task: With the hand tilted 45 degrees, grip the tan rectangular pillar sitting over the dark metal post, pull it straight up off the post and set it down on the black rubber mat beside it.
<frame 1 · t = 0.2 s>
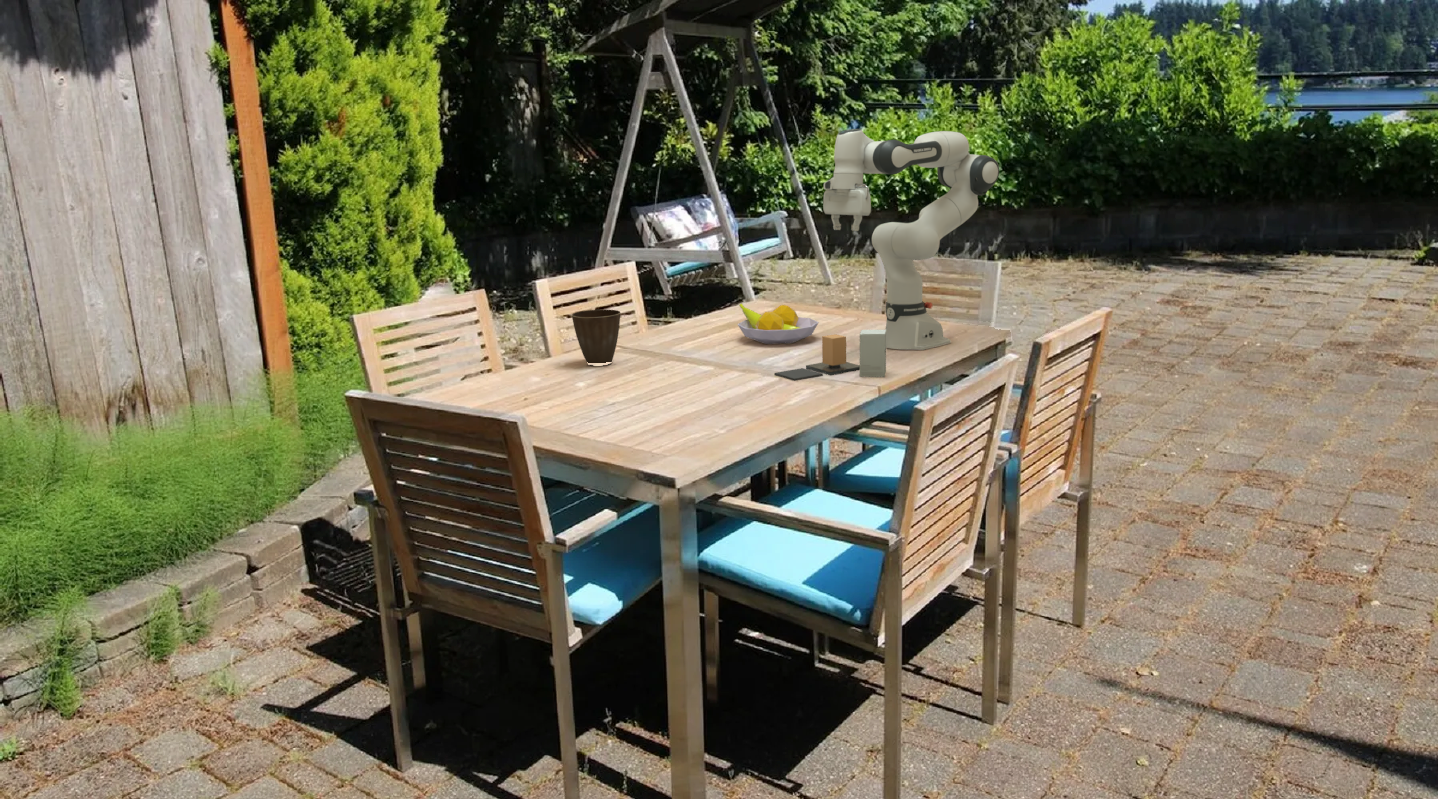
hand: (845, 230, 364), 39 cm above the table, tool pointing down, fingers open, 8 cm apart
post stand: (834, 369, 356), on the table
plant pot: (599, 364, 374), on the table
supplement box: (873, 375, 347), on the table
tan rectangular pillar: (834, 363, 355), point 2 cm above the table, touching post stand
fruit bowl: (776, 340, 403), on the table
mat: (798, 375, 349), on the table
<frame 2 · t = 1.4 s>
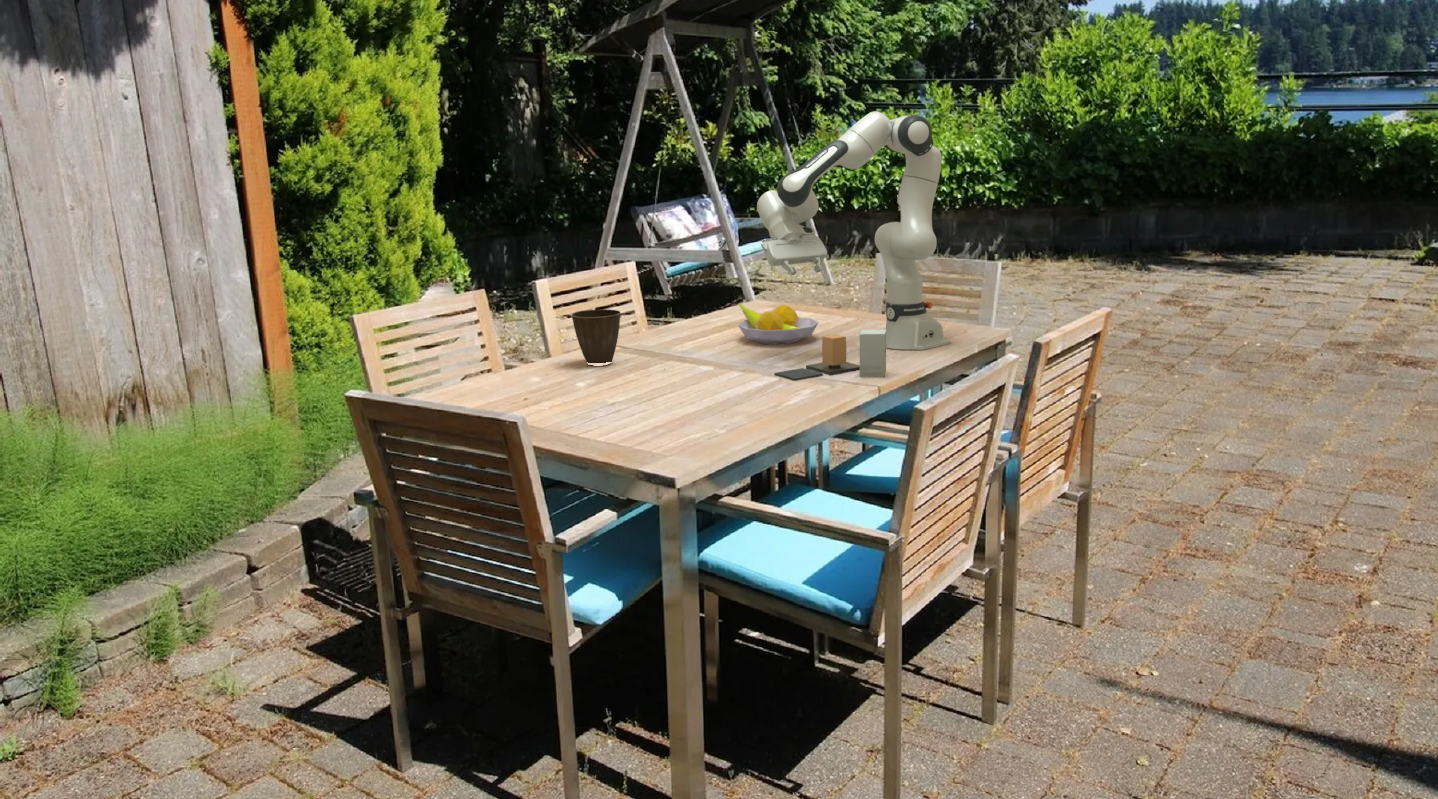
hand: (806, 272, 360), 27 cm above the table, tool tilted 45°, fingers open, 8 cm apart
nothing on the table moved.
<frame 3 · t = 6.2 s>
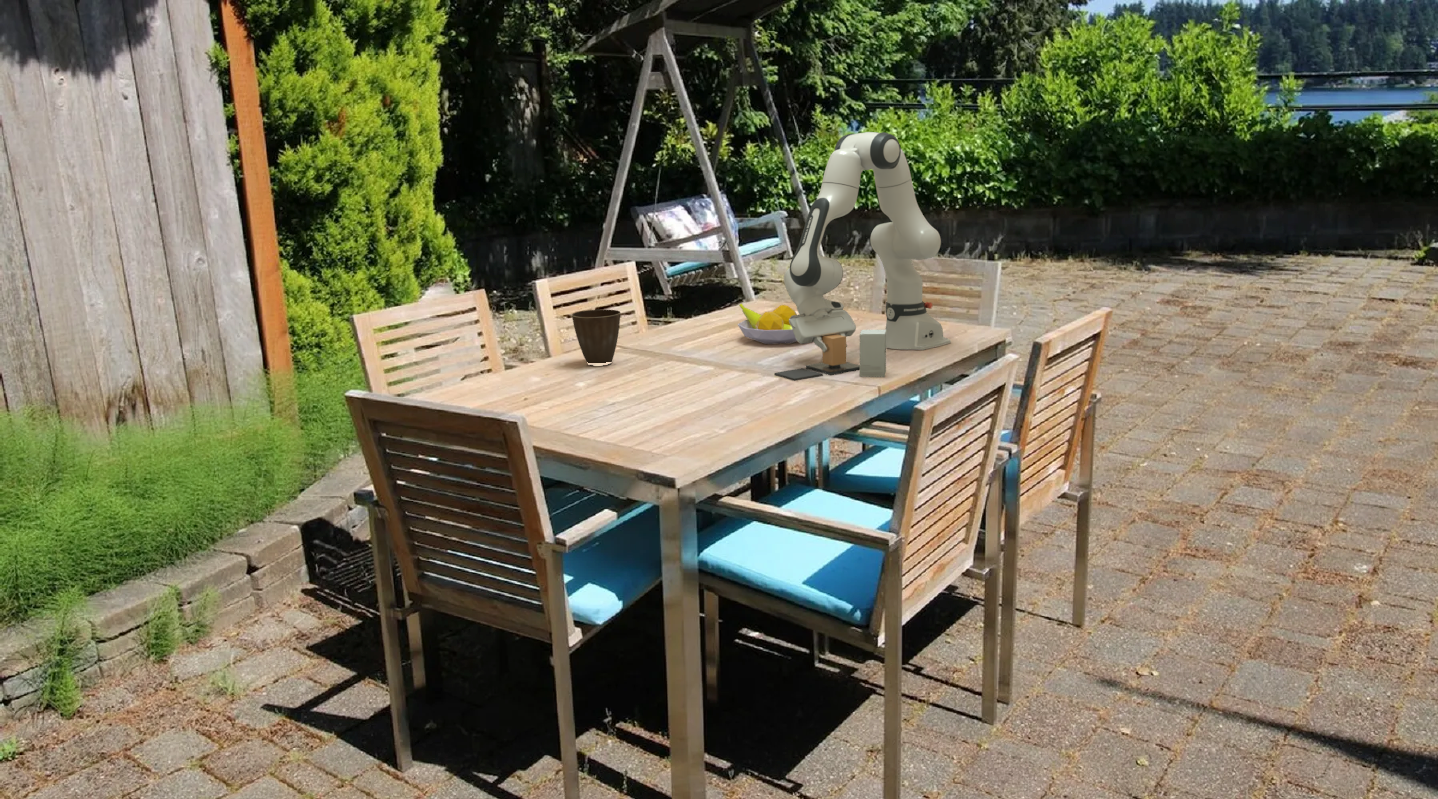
hand: (835, 349, 354), 6 cm above the table, tool tilted 45°, fingers closed on tan rectangular pillar, 5 cm apart
tan rectangular pillar: (834, 363, 355), point 2 cm above the table, touching gripper, post stand
everything else where it was.
when the fingers open (6 cm above the table, at t = 13.7 s): tan rectangular pillar drops 1 cm, resting on mat.
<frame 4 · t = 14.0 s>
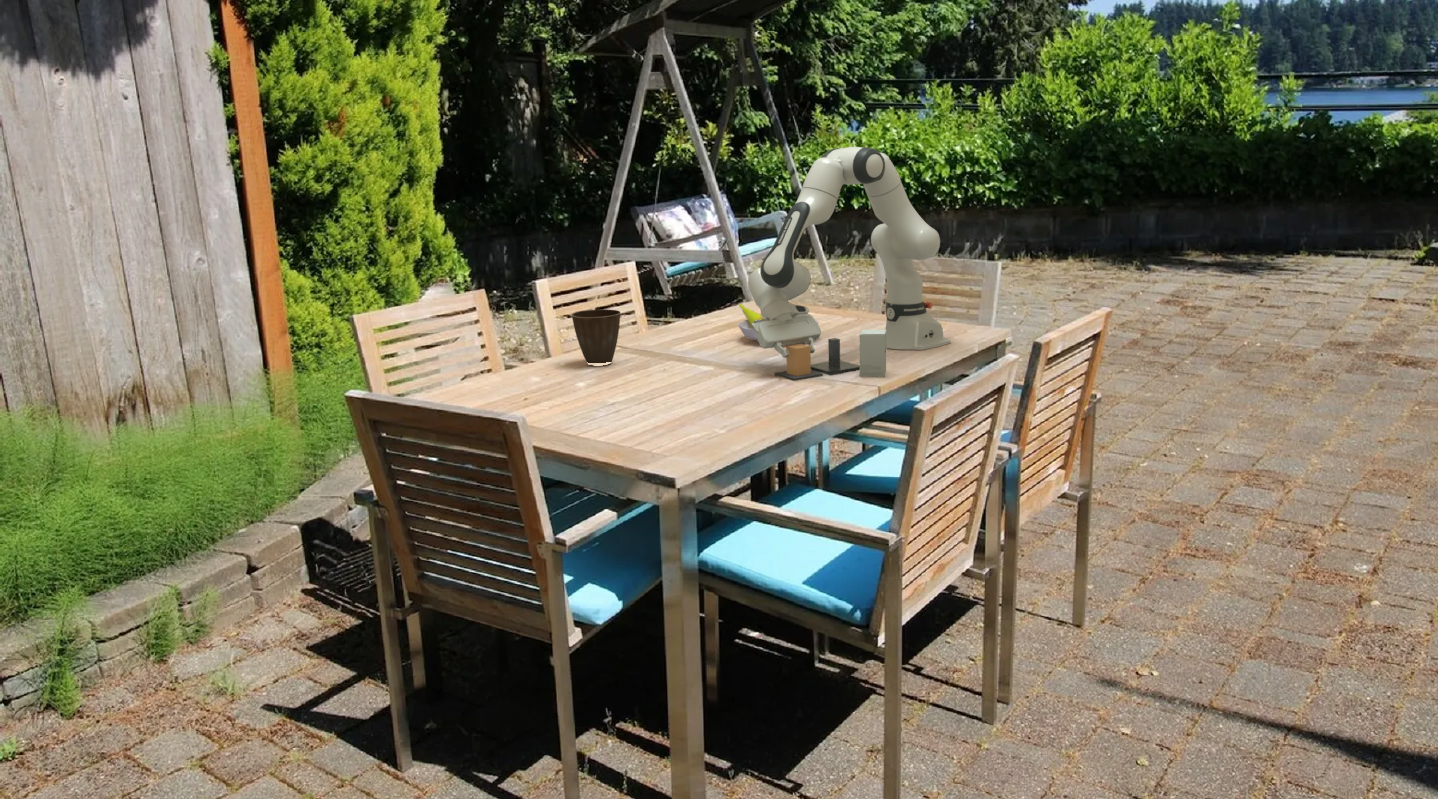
hand: (799, 354, 347), 6 cm above the table, tool tilted 45°, fingers open, 8 cm apart
tan rectangular pillar: (798, 373, 349), point 1 cm above the table, touching mat
everything else where it was.
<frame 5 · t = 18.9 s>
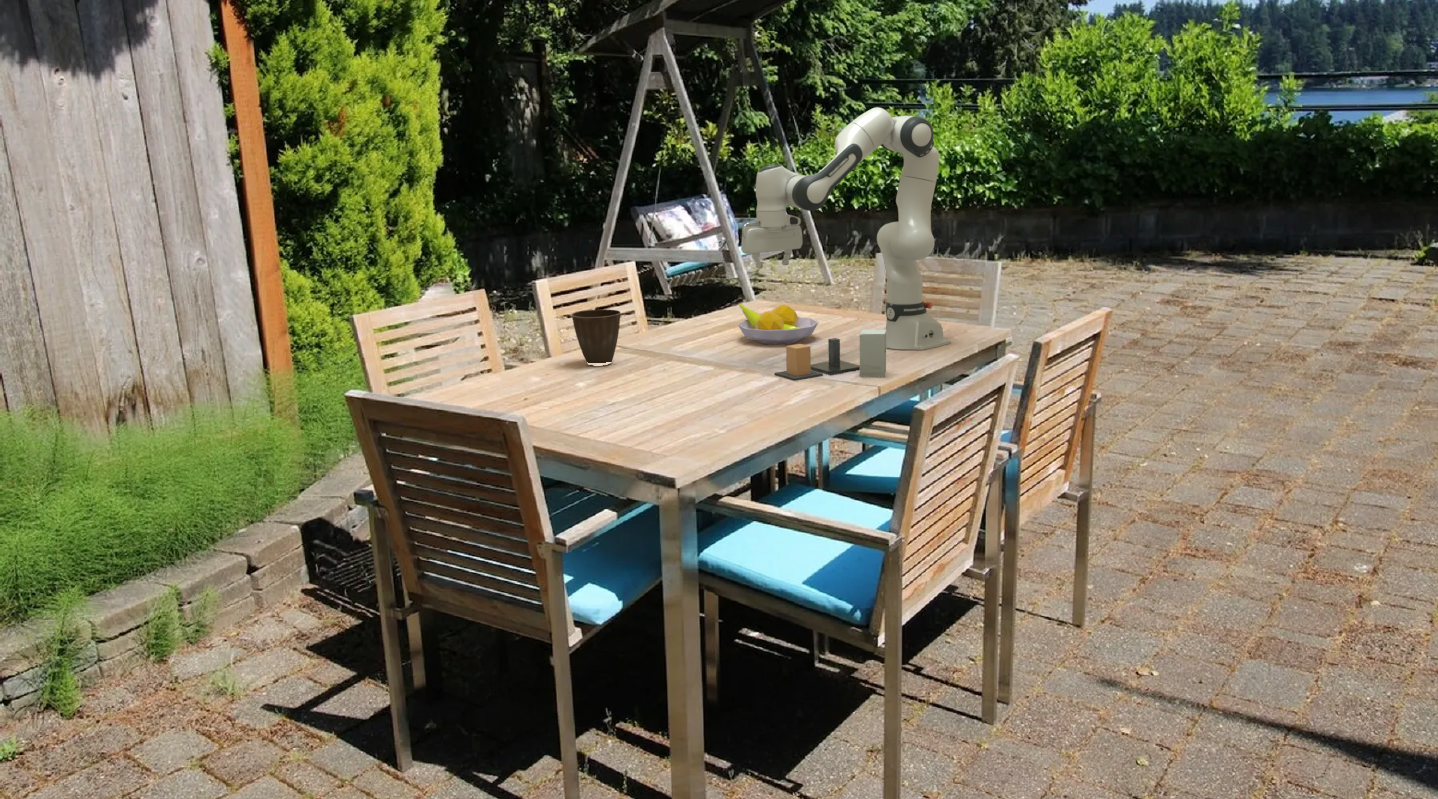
hand: (772, 266, 363), 29 cm above the table, tool pointing down, fingers open, 8 cm apart
nothing on the table moved.
at the end: tan rectangular pillar inside the target area (0.1 cm from its centre), point 0.6 cm above the table; tan rectangular pillar tilted 0°; the gripper is holding nothing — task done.
